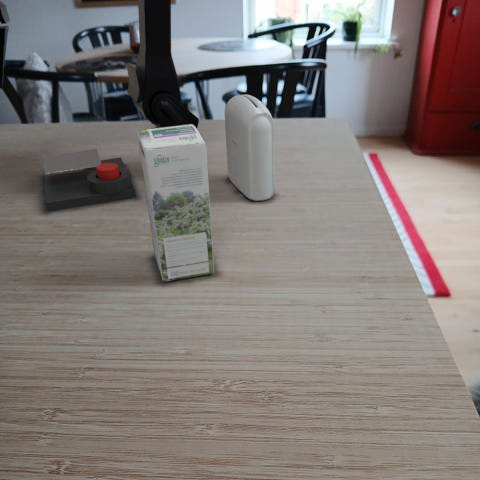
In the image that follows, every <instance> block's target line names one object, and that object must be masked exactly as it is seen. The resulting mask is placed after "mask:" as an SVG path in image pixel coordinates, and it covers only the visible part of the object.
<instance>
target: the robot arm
mask: <svg viewBox="0 0 480 480" xmlns="http://www.w3.org/2000/svg"><path fill="white" fill-rule="evenodd" d="M137 7H138V11H137V12H138V33H139V34H138V35H139V37H138V38H139V51H138V55H137V59H136V64H134V63H129V62H127V63H126V71H127V76H128V87H127V91H126V93H127V95H129V96H130V97H131V98H132V103H133V105H134V107H135V109H137V110H138V111H139V112H140V113H141V114H142V115H143V117H145V118H146V119H147V120H148V121H149V122H150V123H151V124H152V125H153V126H154V127H151V128H150V129H155V128H164V127H172V126H181V125H189V124H193V125H194V126H195V127H196V129H197V130H198V127H199V123H200V118H199V117H198V116H196V115H195V114H194V113H193V112H191V111H190V109H188V108H187V107H186V106H185V105H183V101H182V100H183V99H182V95H181V87H180V81H179V77H178V74H177V69H176V66H175V62H174V59H173V54H172V0H137ZM9 22H11V19H10V15H9V12H8V8H7V5H6V4H5V3H4V2H3V1H1V0H0V24H1V25H0V90H1V89H3V86H4V85H3V84H4V76H5V75H4V73H5V72H4V71H5V63H6V52H7V43H8V35H9V31H10V26H9V25H6V24H8V23H9Z"/></svg>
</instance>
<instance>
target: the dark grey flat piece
mask: <svg viewBox="0 0 480 480" xmlns="http://www.w3.org/2000/svg"><path fill="white" fill-rule="evenodd" d="M100 161H101V164H104V163H115V164H117V165H118V168H119V174H120V176H119V177H117V178H114V179H108V180H100V179H98V175H97V170H96V169H93V170H86V171H79V172H72V173H65V174H58V175H51V176H45V174H44V173H43V184H44V185H43V186H44V202H45V207H46V210H47V212H48V213H49V212H56V211H61V210H69V209H74V208H80V207H86V206H94V205H99V204H105V203H111V202H112V203H113V202H117V201H125V200H131V199H136V198H137V195H136V189H135V186H134V185H133V180H132V174H131V171H130V170H129V169H127V168H126V166H125V164H124V161H123V159H122V157H115V158H114V157H113V158H107V159H106V158H105V159H100ZM42 169H43V172H44V167H43V168H42Z"/></svg>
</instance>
